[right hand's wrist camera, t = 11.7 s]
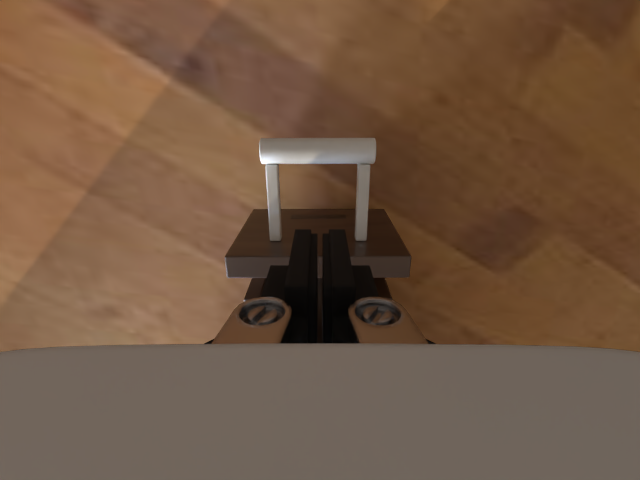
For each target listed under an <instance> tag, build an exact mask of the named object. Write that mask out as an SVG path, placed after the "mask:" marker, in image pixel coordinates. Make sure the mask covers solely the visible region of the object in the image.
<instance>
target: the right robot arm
mask: <svg viewBox="0 0 640 480" xmlns="http://www.w3.org/2000/svg"><path fill="white" fill-rule="evenodd" d="M317 325H318V249H317V233H311V229H295V233H294V238H293V243H292V248H291V254H290V259H289V264H288V265H271V266H270V268H269V271H268V275H267V278H266V281H265V285H264V288H263V292H262V295H261V297H258V298H253V299H250V300H247V301H245V302H243V303H241V304H240V305H238V306H237V307H236V308H235V309H234V311H233V312H232V314H231V315H230V317H229V318H228V320H227V321H226V323H225V324H224V326H223V327H222V329H221V330H220V332H219V333H218V335H217V336H216V337H215V339H213V340H211V341H209V342H207V343H205V344H167V345H102V346H69V347H48V348H34V349H21V350H13V351H5V352H0V480H640V352H635V351H627V350H618V349H608V348H591V347H574V346H536V345H477V344H435V343H433V342H431V341H429V340H427V339H425V337H424V336H423V335H422V333H421V332H420V330H419V329H418V327H417V326H416V324H415V323H414V321H413V320H412V318H411V317H410V315H409V314H408V312H407V311H406V309H405V308H404V307H403V306H402V305H400V304H399V303H397V302H395V301H393V300H390V299H387V298H382V297H379V295H378V292H377V288H376V285H375V281H374V278H373V275H372V271H371V268H370V266H369V265H352V264H351V259H350V254H349V248H348V243H347V238H346V233H345V229H329V233H323V249H322V325H323V344H317Z"/></svg>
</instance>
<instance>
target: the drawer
mask: <svg viewBox="0 0 640 480" xmlns="http://www.w3.org/2000/svg"><path fill="white" fill-rule="evenodd" d="M259 153H260V160H261V163H262V164H266V183H267V200H268V209H254V210H253V211H252V213H251V215H250V216H249V218H248V219H247V221H246V223H245V224H244V226H243V228H242V229H241V231H240V233H239V234H238V236H237V238H236V239H235V241H234V243H233V244H232V246H231V247H230V249H229V251H228V252H227V254H226V256H225V263H226V272H227V278H252V280H251V283H250V285H249V288H248V291H247V293H246V296H245V298H244V302H245V301H247V300H250V299H253V298H258V297H261V295H262V292H263V288H264V285H265V281H266V278H267V275H268V271H269V268H270V266H271V265H288V264H289V259H290V254H291V248H292V243H293V238H294V233H295V229H311V233H317V249H318V325H317V344H323V325H322V249H323V233H329V229H345V233H346V238H347V243H348V248H349V254H350V259H351V264H352V265H369V266H370V268H371V271H372V275H373V278H374V281H375V285H376V288H377V292H378V295H379V297H382V298H387V299H390V300H392V297H391V294H390V291H389V289H388V286H387V283H386V280H385V278H408V277H409V275H410V265H411V255H410V253H409V252H408V250H407V248H406V246H405V245H404V243H403V241H402V240H401V238H400V236H399V234H398V233H397V231H396V229H395V228H394V226H393V224H392V222H391V221H390V219H389V217H388V215H387V214H386V212H385V210H384V209H368V202H369V182H370V164H373V163H374V162H375V159H376V140H375V138H261V139H260V144H259ZM279 164H357V187H356V209H281V207H280V185H279Z"/></svg>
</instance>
